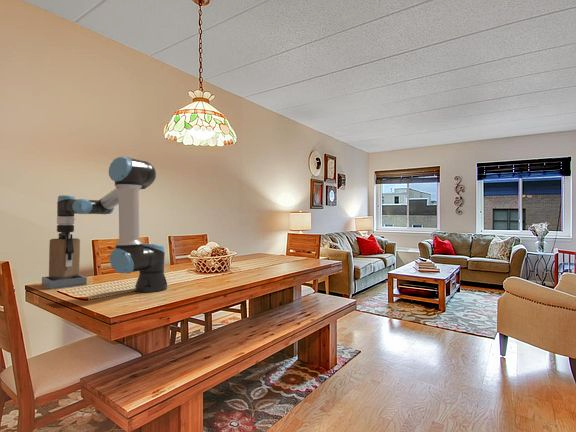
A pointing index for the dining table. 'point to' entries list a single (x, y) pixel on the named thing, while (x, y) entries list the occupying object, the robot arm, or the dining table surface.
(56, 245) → the wooden block
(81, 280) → the tray
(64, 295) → the dining table surface
